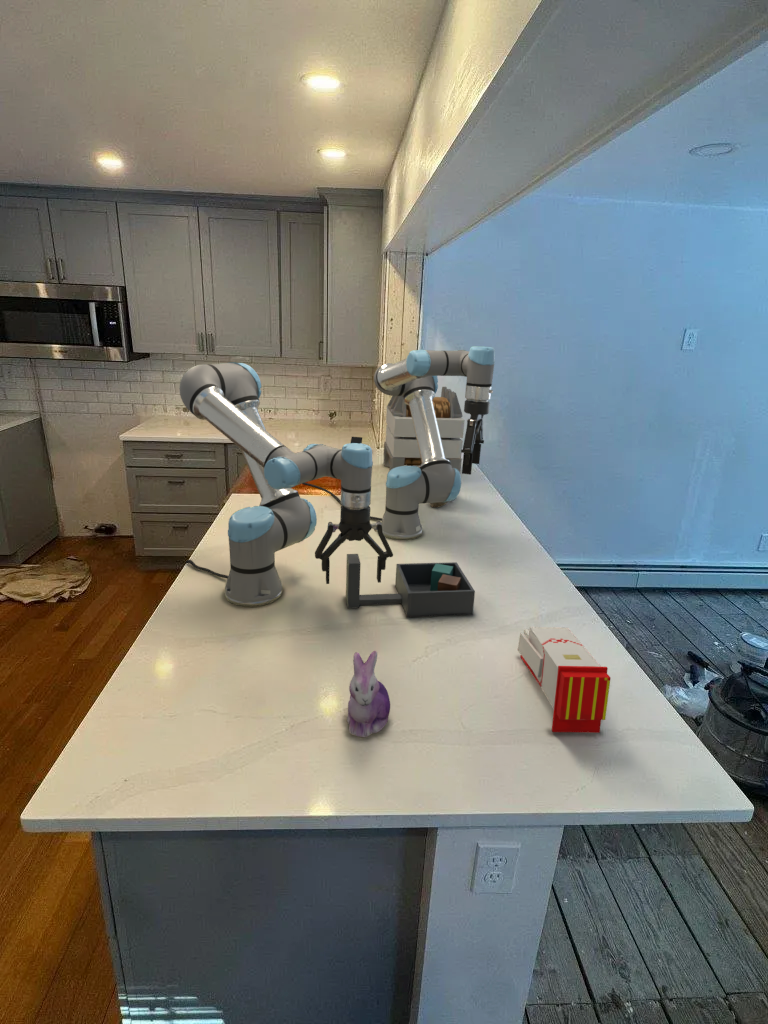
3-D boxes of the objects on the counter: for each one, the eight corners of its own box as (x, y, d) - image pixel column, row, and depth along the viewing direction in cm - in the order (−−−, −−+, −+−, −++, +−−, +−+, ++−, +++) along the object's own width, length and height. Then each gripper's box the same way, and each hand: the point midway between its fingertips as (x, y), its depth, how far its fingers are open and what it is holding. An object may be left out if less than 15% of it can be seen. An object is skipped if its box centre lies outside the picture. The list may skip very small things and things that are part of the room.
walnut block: (436, 605, 151) (438, 581, 149) (440, 597, 156) (442, 574, 153) (454, 609, 150) (456, 585, 147) (458, 600, 154) (460, 577, 152)
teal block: (429, 593, 157) (431, 570, 155) (434, 585, 162) (435, 563, 159) (447, 596, 156) (449, 573, 154) (451, 588, 160) (453, 566, 158)
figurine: (356, 747, 102) (359, 677, 97) (334, 712, 111) (335, 646, 105) (402, 731, 106) (406, 663, 101) (377, 699, 115) (380, 635, 110)
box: (349, 619, 144) (350, 573, 139) (343, 587, 160) (344, 545, 156) (472, 614, 149) (477, 570, 144) (454, 584, 165) (458, 542, 161)
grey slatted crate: (382, 463, 289) (386, 382, 275) (445, 464, 293) (451, 384, 279) (390, 482, 257) (394, 392, 243) (460, 483, 261) (468, 394, 247)
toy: (564, 611, 133) (619, 673, 103) (558, 664, 135) (611, 739, 106) (512, 610, 132) (554, 672, 103) (508, 663, 135) (547, 738, 106)
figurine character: (361, 458, 302) (362, 448, 315) (362, 444, 299) (362, 435, 312) (349, 458, 302) (350, 448, 315) (349, 444, 298) (350, 435, 312)
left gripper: (306, 510, 137) (306, 589, 145) (406, 510, 141) (402, 586, 148) (305, 500, 144) (305, 575, 152) (401, 500, 148) (397, 573, 155)
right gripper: (482, 407, 158) (475, 480, 165) (496, 396, 180) (489, 460, 187) (456, 404, 160) (450, 476, 167) (473, 393, 182) (466, 458, 189)
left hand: (353, 581), depth 150 cm, fingers open, 13 cm apart
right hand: (470, 468), depth 177 cm, fingers open, 13 cm apart
